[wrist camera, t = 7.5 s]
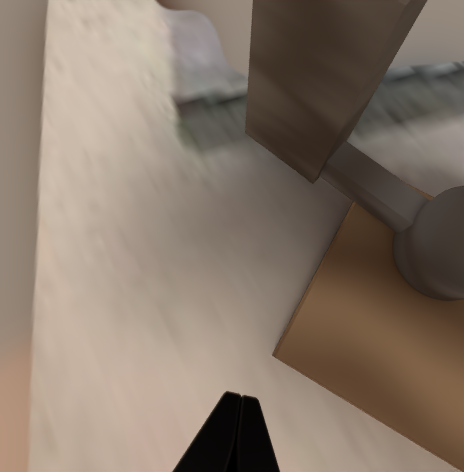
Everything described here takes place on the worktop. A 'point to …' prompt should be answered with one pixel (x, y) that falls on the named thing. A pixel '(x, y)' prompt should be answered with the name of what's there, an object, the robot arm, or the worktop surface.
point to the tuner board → (382, 339)
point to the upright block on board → (348, 121)
